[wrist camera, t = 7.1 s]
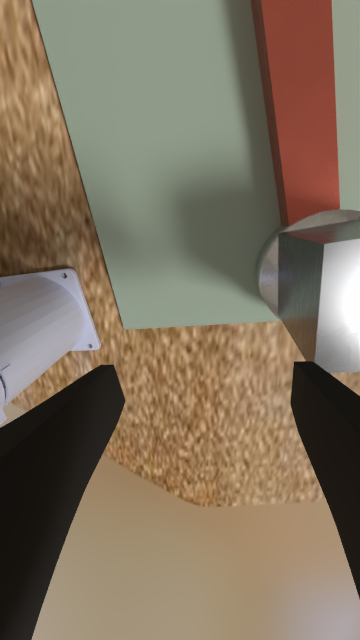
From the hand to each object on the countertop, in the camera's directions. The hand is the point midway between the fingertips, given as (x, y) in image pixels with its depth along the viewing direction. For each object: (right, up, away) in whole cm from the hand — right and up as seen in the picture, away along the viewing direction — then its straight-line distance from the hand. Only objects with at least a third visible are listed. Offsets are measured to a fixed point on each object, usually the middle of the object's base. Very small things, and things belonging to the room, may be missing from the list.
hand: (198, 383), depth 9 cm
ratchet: (+6, +11, +4) cm, 14 cm away
